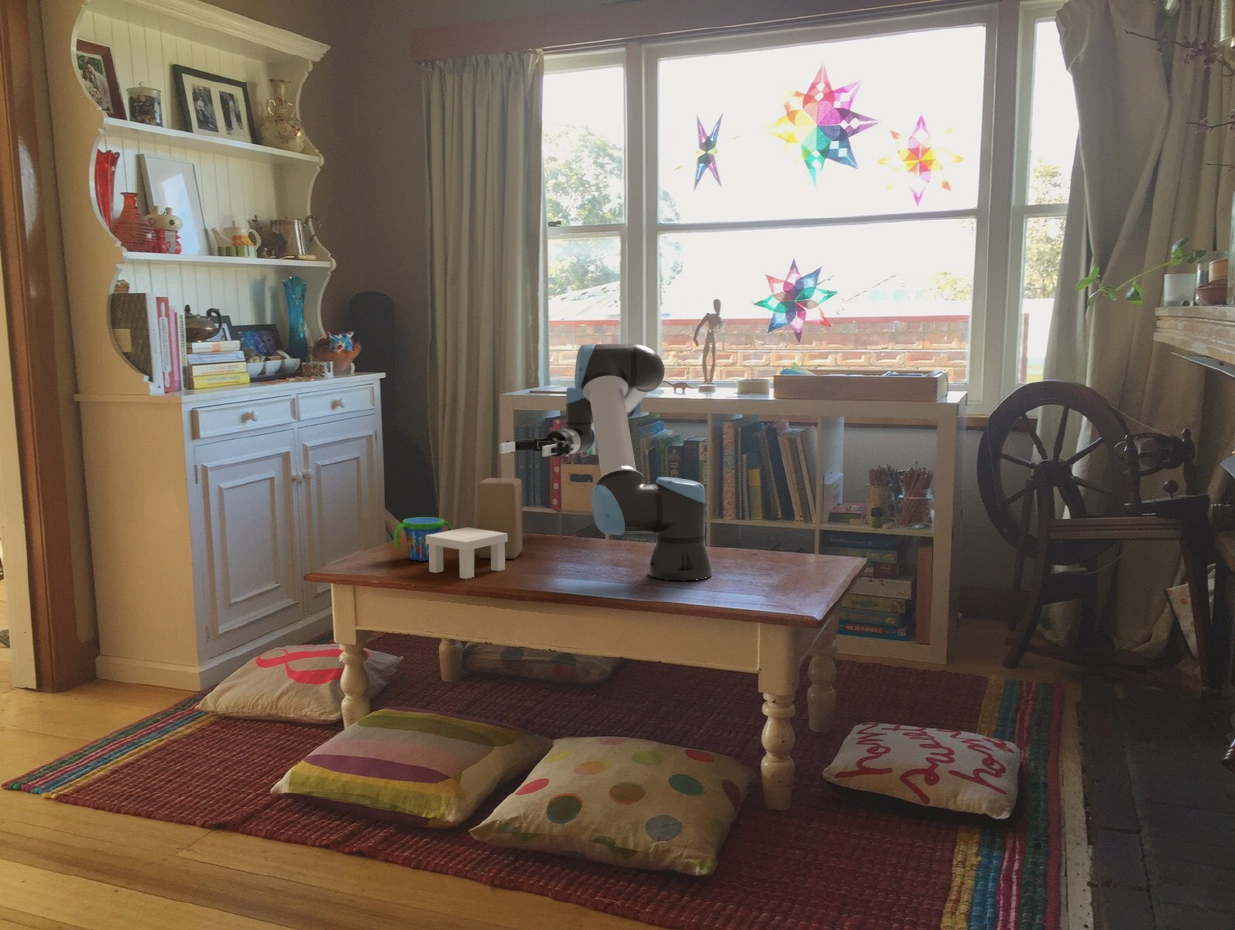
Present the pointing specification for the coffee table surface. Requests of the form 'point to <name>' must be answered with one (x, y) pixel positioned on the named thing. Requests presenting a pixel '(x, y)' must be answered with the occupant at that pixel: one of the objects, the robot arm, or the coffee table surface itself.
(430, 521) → the snack cup
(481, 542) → the footstool
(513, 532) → the block
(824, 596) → the coffee table surface
